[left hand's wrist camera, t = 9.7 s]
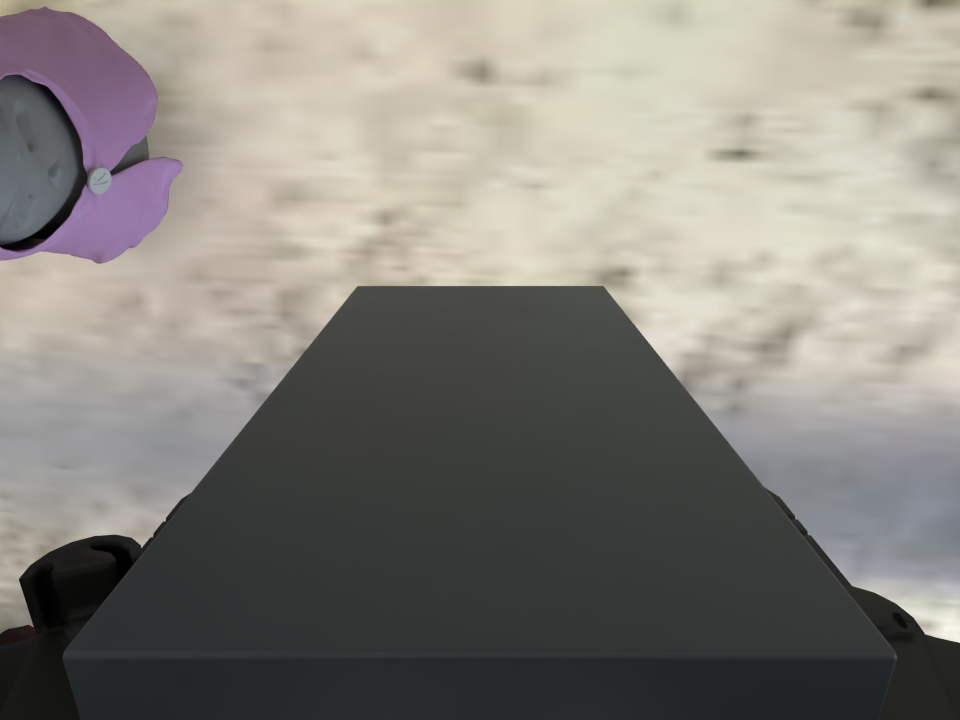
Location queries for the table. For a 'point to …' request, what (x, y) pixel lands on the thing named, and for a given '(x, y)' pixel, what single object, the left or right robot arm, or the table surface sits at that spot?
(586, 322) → the box
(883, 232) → the table surface
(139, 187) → the toy character
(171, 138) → the table surface
